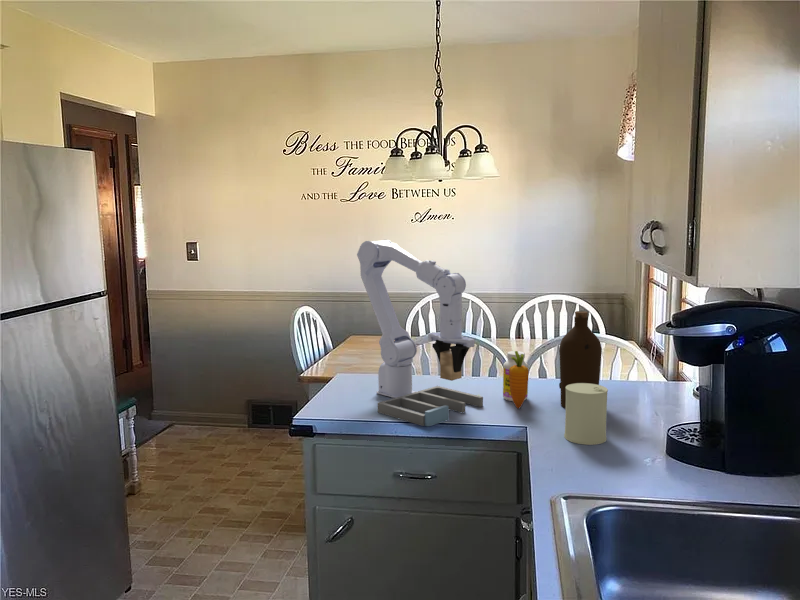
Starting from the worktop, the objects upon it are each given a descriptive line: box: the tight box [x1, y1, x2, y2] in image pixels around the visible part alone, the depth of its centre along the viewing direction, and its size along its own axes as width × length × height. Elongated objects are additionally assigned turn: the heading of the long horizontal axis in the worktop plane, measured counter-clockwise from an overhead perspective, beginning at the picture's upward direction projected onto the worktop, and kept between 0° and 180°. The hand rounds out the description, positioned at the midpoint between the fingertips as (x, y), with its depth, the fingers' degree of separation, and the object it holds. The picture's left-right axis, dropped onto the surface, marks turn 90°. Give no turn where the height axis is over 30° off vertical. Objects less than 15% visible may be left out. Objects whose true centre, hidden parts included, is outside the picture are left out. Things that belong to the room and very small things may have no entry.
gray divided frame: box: [377, 385, 484, 427], centre depth 171 cm, size 17×23×4 cm
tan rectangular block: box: [439, 349, 463, 381], centre depth 174 cm, size 4×4×7 cm
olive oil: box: [558, 310, 603, 409], centre depth 171 cm, size 11×11×25 cm
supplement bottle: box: [502, 350, 529, 402], centre depth 179 cm, size 7×7×13 cm
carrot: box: [509, 350, 530, 410], centre depth 170 cm, size 5×5×15 cm
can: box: [563, 383, 609, 446], centre depth 147 cm, size 9×9×12 cm
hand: (450, 370), depth 175 cm, fingers closed on tan rectangular block, 4 cm apart
